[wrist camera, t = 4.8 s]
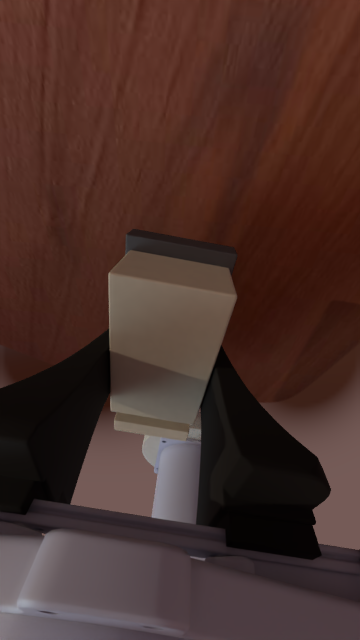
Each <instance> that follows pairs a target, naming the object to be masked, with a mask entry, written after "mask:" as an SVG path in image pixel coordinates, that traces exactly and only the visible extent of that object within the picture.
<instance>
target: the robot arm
mask: <svg viewBox="0 0 360 640" xmlns="http://www.w3.org/2000/svg"><path fill="white" fill-rule="evenodd" d="M109 394H110V339H109V329H108V330H107V331H105V332H104V333H103V334H101V335H100V336H99V337H98V338H96V339H95V340H94V341H92V342H91V343H90V344H88V345H87V346H85V347H84V348H82V349H81V350H79V351H78V352H76V353H75V354H73V355H72V356H70V357H68V358H67V359H65V360H63V361H62V362H60V363H58V364H56V365H54V366H52V367H50V368H48V369H46V370H44V371H42V372H40V373H37V374H36V375H33V376H31V377H29V378H26V379H24V380H21V381H19V382H16V383H14V384H11V385H8V386H6V387H3V388H0V640H360V550H355V549H348V548H341V547H336V546H329V545H323V544H318V541H317V538H316V535H315V532H314V529H313V526H312V525H315V524H316V520H315V517H314V514H313V511H312V510H313V509H314V508H315V507H317V506H318V505H319V504H321V503H322V502H323V501H325V500H326V498H327V497H328V496H329V494H330V491H331V488H330V486H329V483H328V481H327V478H326V476H325V473H324V471H323V468H322V466H321V464H320V462H319V460H318V458H317V457H316V456H315V455H314V454H313V453H312V452H310V451H309V450H308V449H307V448H306V447H304V446H303V445H302V444H301V443H299V442H298V441H297V440H296V439H295V438H294V437H292V436H291V435H290V434H289V433H288V432H287V431H286V430H285V429H284V428H283V427H282V426H281V425H279V424H278V423H277V422H276V421H275V420H274V419H273V418H272V417H271V415H270V414H269V413H268V412H267V411H266V410H265V409H264V408H263V407H262V406H261V405H260V403H259V402H258V401H257V400H256V399H255V397H254V396H253V395H252V394H251V393H250V391H249V390H248V389H247V387H246V386H245V384H244V383H243V381H242V380H241V379H240V377H239V375H238V374H237V372H236V371H235V369H234V367H233V366H232V364H231V362H230V360H229V359H228V357H227V355H226V353H225V351H224V349H223V347H222V345H221V347H220V350H219V353H218V356H217V359H216V362H215V365H214V368H213V371H212V374H211V377H210V380H209V382H208V385H207V388H206V391H205V394H204V397H203V400H202V403H201V406H200V408H201V440H196V439H190V438H187V440H186V441H180V440H174V439H168V438H162V437H161V438H160V443H159V448H158V453H157V458H156V463H155V467H154V472H155V473H157V474H158V476H157V483H156V490H155V497H154V504H153V511H152V517H146V516H139V515H133V514H127V513H120V512H113V511H108V510H101V509H95V508H89V507H82V506H76V505H70V503H71V499H72V496H73V493H74V490H75V487H76V483H77V480H78V477H79V474H80V470H81V468H82V464H83V462H84V459H85V456H86V453H87V450H88V447H89V444H90V441H91V437H92V435H93V432H94V429H95V427H96V424H97V421H98V418H99V415H100V413H101V411H102V408H103V406H104V404H105V402H106V400H107V398H108V395H109ZM42 533H44V534H46V535H45V536H42Z"/></svg>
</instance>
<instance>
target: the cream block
mask: <svg viewBox="0 0 360 640" xmlns="http://www.w3.org/2000/svg"><path fill="white" fill-rule="evenodd" d="M236 259H237V253H236V251H235V249H234V247H229V246H223V245H218V244H213V243H207V242H202V241H196V240H191V239H186V238H180V237H175V236H170V235H164V234H159V233H153V232H148V231H143V230H137V229H133V230H131V231H130V232H129V233H127V234H126V255H125V256H124V257H123V258H122V260H121V261H120V262H119V263H118V264H117V265H116V266H115V267H114V268H113V269H112V270H111V271H110V272H109V274H108V275H109V339H110V396H111V398H110V399H111V400H110V401H111V411H114V412H117V413H116V416H115V419H114V429H115V430H120V431H126V432H131V433H138V434H144V435H150V436H156V437H162V438H168V439H174V440H180V441H186V440H187V437H188V433H189V424H191V425H194V424H195V421H196V418H197V415H198V412H199V409H200V406H201V403H202V400H203V397H204V394H205V391H206V388H207V385H208V382H209V380H210V377H211V374H212V371H213V368H214V365H215V362H216V359H217V356H218V353H219V350H220V347H221V344H222V341H223V338H224V335H225V332H226V329H227V326H228V323H229V320H230V317H231V314H232V312H233V309H234V306H235V303H236V300H237V294H236V290H235V287H234V284H233V281H232V277H231V275H232V272H233V269H234V265H235V262H236Z"/></svg>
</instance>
